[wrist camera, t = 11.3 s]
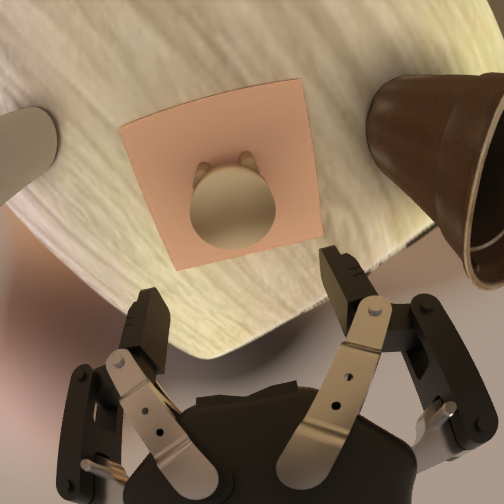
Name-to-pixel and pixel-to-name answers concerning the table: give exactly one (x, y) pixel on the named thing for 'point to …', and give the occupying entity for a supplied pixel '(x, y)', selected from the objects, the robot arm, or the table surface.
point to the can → (24, 149)
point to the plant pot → (449, 160)
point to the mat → (227, 152)
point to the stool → (231, 204)
